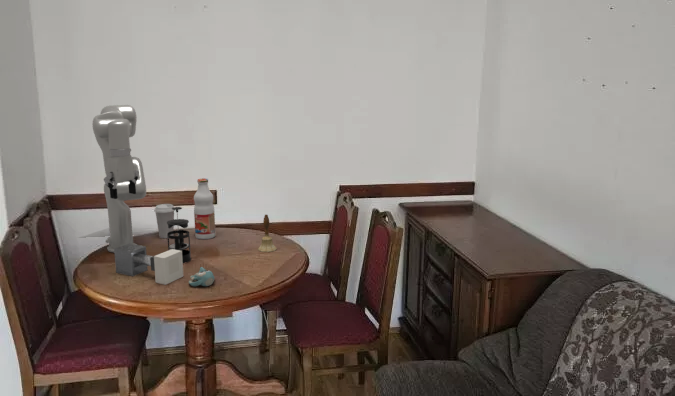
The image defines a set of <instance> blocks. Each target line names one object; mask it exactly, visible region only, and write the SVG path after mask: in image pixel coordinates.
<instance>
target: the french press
mask: <svg viewBox="0 0 675 396" xmlns="http://www.w3.org/2000/svg"><path fill="white" fill-rule="evenodd" d="M172 209H173V210H175V213H176V219H175V218H174V220H170V221H167V224H168V228H171V227H172V226H174V227H176V226H177V230H175V229H174V231H171V232H168V233H167V237H168V238H167V249H168V250H171V249H175V250H180V251H182V260H183V264H186V263H185V262H187V263H189V262H191V261H192V257H191V240H190V237H191V235H190V231H188V230H186V229H187V228H188V227H189V223H190V221H189V219H184V218H179V211H181V210H182V209H183V207H181V206H174V208H172ZM180 227H181V228H182V229H179V228H180ZM184 229H185V230H184ZM171 234H173V236H170V235H171ZM175 234H177V235H175ZM186 238H188V243H186V242H185V239H186ZM170 239H171V240H174V243H172V244H170ZM168 250H167V251H168Z"/></svg>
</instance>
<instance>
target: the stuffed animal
mask: <svg viewBox="0 0 675 396" xmlns="http://www.w3.org/2000/svg"><path fill="white" fill-rule="evenodd" d="M189 278H190V279H189V280H188V283H189V285H190V286H192V287H195V288H196V287H198V286H202V287H209V286H211V285H212V284H213V283H214V281H215V275H214V273H213V272H212V271H211V270H209V269H208V270H207V269H206V268H204V267H203V266H201V267H199V271H198V272H196V273H195V274H194V275H190V276H189Z"/></svg>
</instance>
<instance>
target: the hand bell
mask: <svg viewBox="0 0 675 396" xmlns="http://www.w3.org/2000/svg"><path fill="white" fill-rule="evenodd" d="M263 227H264V236H263V237H261V244H260V245H259V247H258V248H257V251H259V252H262V253H272V252H275V251H277V247H276V246H275V245H274V242H273V237H271V236H270V235H269V234H270V233H269V227H270V219H269V215H268V214H264V217H263Z"/></svg>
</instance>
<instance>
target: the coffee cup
mask: <svg viewBox="0 0 675 396" xmlns="http://www.w3.org/2000/svg"><path fill="white" fill-rule="evenodd" d="M174 207H175V206H174V204H171V203H163V204H157V205H156V206H155V208H154V212H155V217H156V223H157V228H158V236H159V238H161V239H168V237H167V233H168V232H171V231H175V226H172V227H171V228H168V224H167V221H170V220H174V219H175V212H176V210H173V209H172V208H174ZM170 236H174V234H171V235H170Z"/></svg>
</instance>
